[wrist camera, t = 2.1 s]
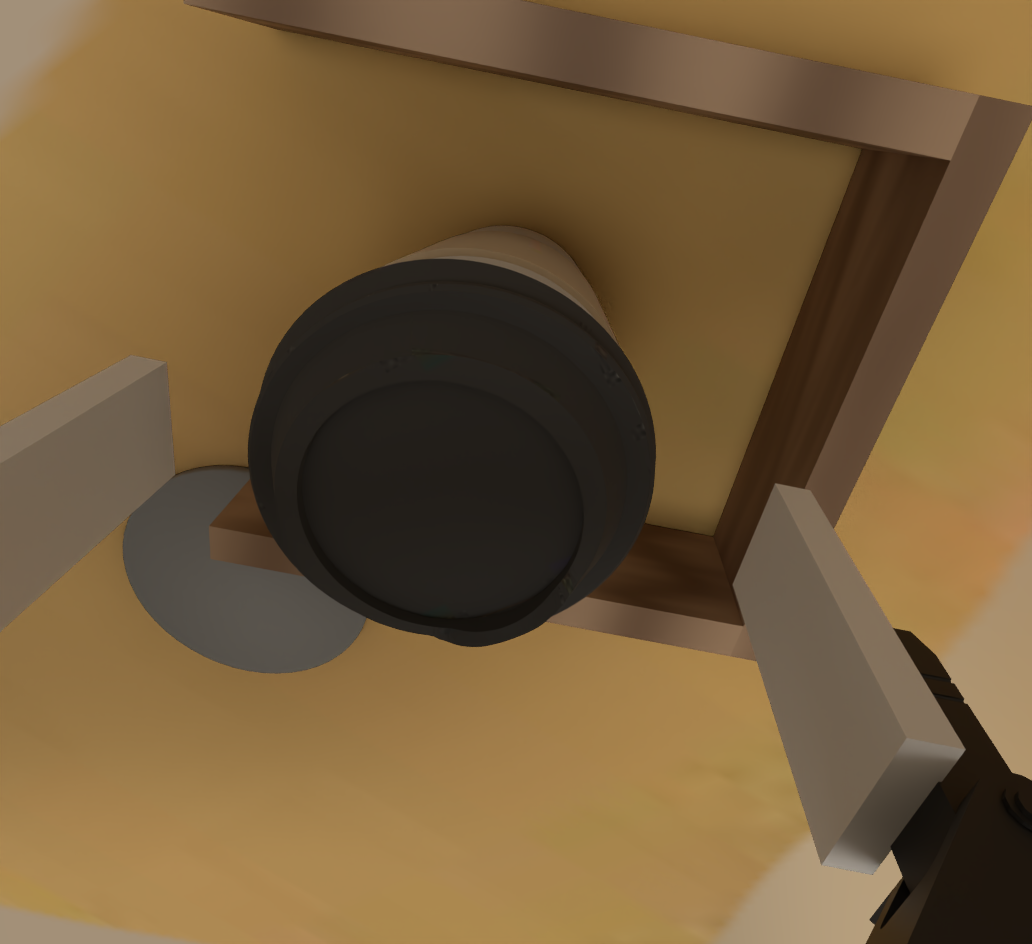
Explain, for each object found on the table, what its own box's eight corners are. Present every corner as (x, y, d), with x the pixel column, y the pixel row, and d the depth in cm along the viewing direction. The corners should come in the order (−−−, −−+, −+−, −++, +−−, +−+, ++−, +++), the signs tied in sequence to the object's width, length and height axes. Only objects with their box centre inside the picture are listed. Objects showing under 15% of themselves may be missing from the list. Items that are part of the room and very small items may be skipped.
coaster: (140, 642, 36) (134, 649, 35) (117, 442, 30) (109, 448, 30) (363, 683, 36) (360, 691, 36) (382, 493, 31) (378, 499, 30)
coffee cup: (342, 264, 26) (105, 425, 13) (555, 142, 23) (535, 183, 10) (460, 454, 29) (370, 736, 16) (656, 366, 27) (738, 613, 14)
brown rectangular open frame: (272, 481, 31) (210, 558, 25) (275, -27, 22) (180, -71, 16) (734, 569, 31) (768, 663, 26) (926, 108, 22) (1038, 106, 17)
